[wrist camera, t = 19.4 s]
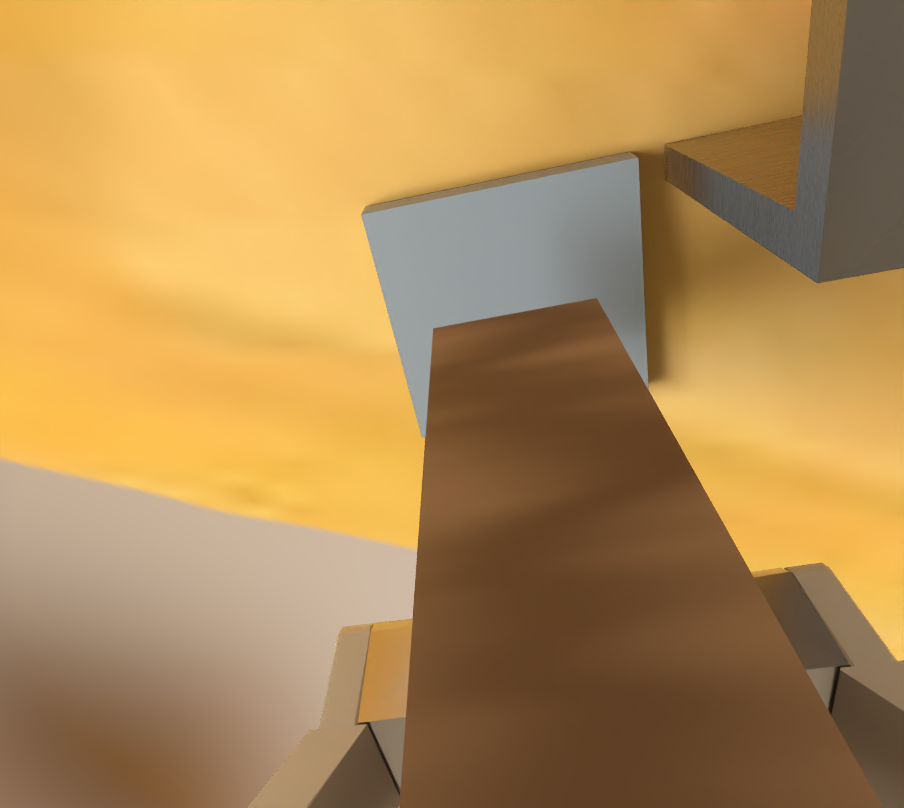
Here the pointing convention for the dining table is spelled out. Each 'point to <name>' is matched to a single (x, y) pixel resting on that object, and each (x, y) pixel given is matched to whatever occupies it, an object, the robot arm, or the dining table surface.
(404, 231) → the slate pad
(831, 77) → the frame
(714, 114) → the dining table surface
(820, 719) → the brown rectangular block
